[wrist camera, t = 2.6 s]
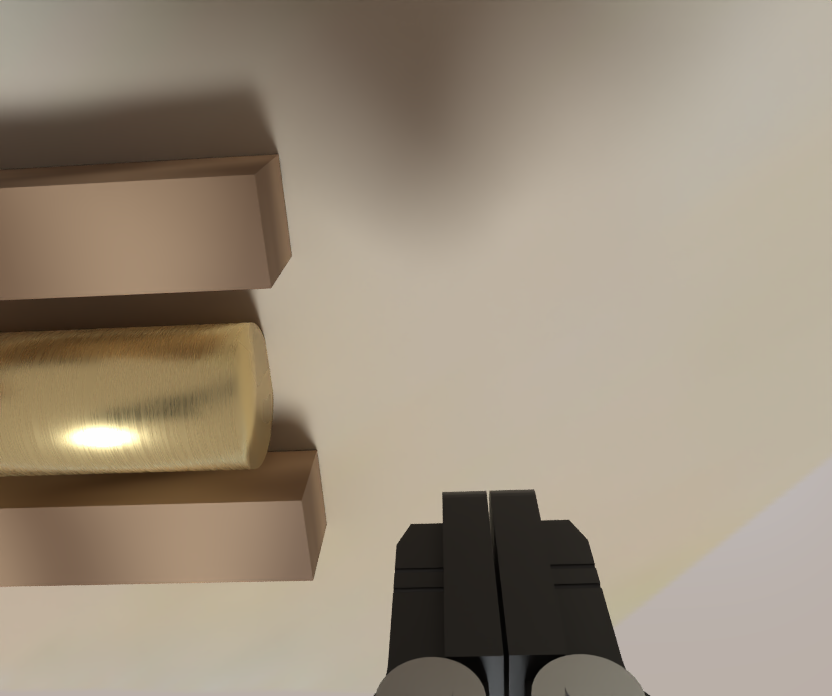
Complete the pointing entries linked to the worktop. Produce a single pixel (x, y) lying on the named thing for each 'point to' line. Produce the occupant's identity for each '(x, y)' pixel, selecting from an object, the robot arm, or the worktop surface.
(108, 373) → the axle
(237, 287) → the parallel bars
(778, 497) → the worktop surface
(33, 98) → the worktop surface
